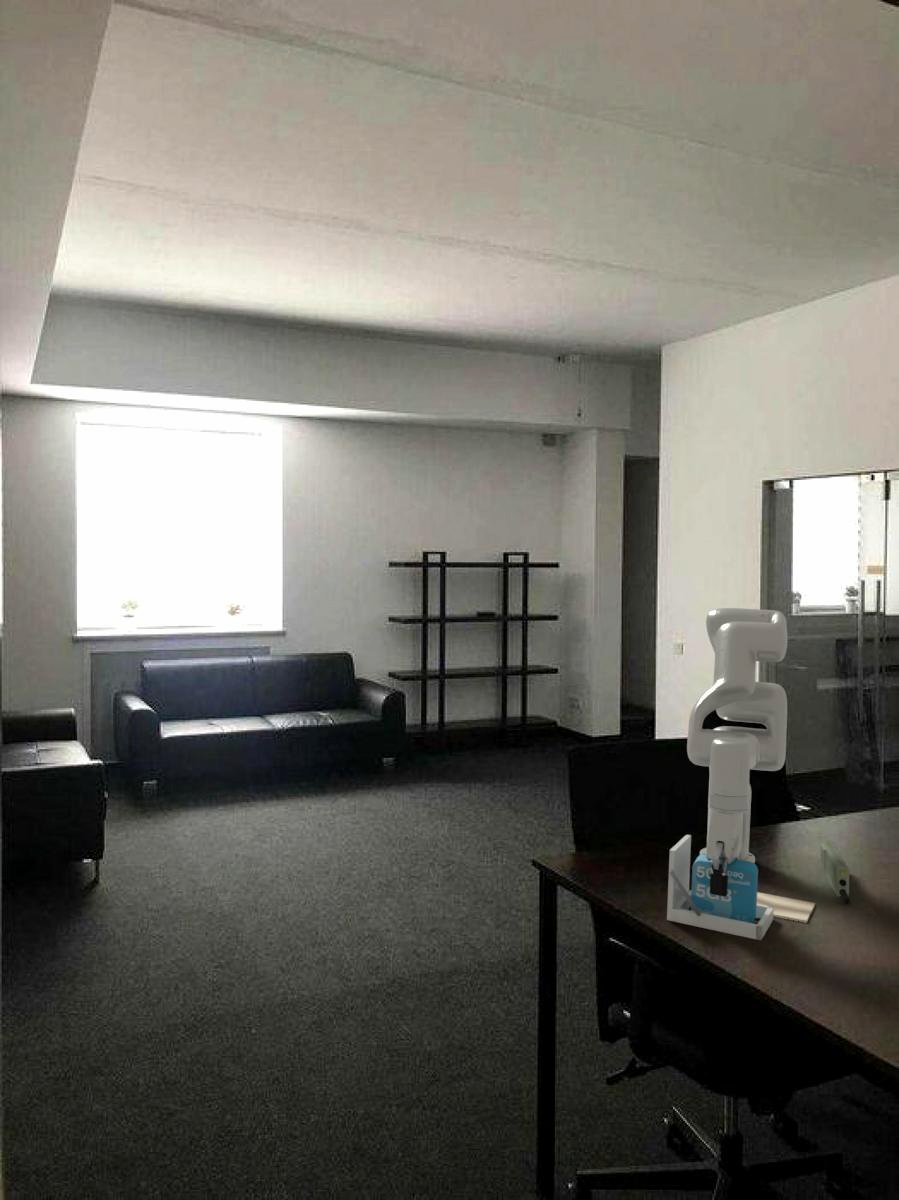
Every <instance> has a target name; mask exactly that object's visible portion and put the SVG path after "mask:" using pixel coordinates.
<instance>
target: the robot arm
mask: <svg viewBox="0 0 899 1200" xmlns="http://www.w3.org/2000/svg"><path fill="white" fill-rule="evenodd" d="M787 625H788V624H787V619H786V617H785V614H784V613H783V612H781V611H779V610H775V609H774V610H773V609H758V608H757V609H756V608H755V609H754V608H753V609H752V608H738V607H737V608H736V607H735V608H734V607H728V608H727V607H725V608H724V607H721V608H715V609H712V610H711V611H709V612H708V613H707V615H706V620H705V626H706V632H707V636H708V639H709V641H710V644H711V647H712V649H713V651H714V667H713V668H714V669H713V683H712V686H711V687H710V688H709V689H707V690H705V692H704V693H703V694H702V695H701V696H700V697H699V698H698V699H697V700H696V702H695V704H694V705H693V707H692V709H691V712H690V716H689V721H688V730H687V742H686V743H687V744H686V752H687V757H688V759H689V761H690V762H691V763H692V764H694V765H696V766H701V767H708V768H709V769H708V770H709V773H708V774H709V777H708V778H709V780H708V798H707V802H708V803H707V808H708V809H707V828H706V829H707V833H706V847H704V848H702V849H700V851H699V856H700V855H706V858H707V860H709V861H710V860H711V859H712V865H711V874H710V893H711V894H714V895H719V896H724V897H725V896H727V887H728V876H727V875H726V873H727V868H728V864H730V863H732V862H733V861H734V860H735V859H737V860H744V861H750V862H753V863H754V864H756V857H755V855H754V854H753V853H751V852H749V851H750V849H749V848H750V833H751V832H750V826H751V809H752V808H751V807H752V806H751V803H752V786H751V784H750V771H751V770H754V771H755V770H756V771H768V772H776V771H779V770H781V769H782V768H783V767H784V765H785V761H786V753H787V728H788V726H787V725H788V724H787V723H788V697H787V693H786V690H785V688H784V687H783V686H782V685H780V684H778V683H774V682H764V681H762V682H761V681H756V670H757V669H756V668H757V666H756V665H757V662H765V663H779V662H781V661H783V659H784V658H785V656H786V653H787V649H788V627H787ZM714 711H715V712H716V714H717V716H718V717H719V718H720V719H722V720H725V721H732V722H740V723H741V722H742V723H753V724H755V723H756V724H761V725H764V726H765V727H766V729H765V728H754V727H743V726H731V725H730V726H727V725H726V726H725V725H722V726H718V727H715V728H713V729H710V728H706V729H705V728H703V724H704V721H705V718H706V717H707V716H708V715H710V714H711V713H712V712H714ZM721 858H724V859H721ZM722 864H724V867H723V866H722Z"/></svg>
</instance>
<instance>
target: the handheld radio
mask: <svg viewBox="0 0 899 1200" xmlns="http://www.w3.org/2000/svg"><path fill="white" fill-rule="evenodd" d="M820 866H821V869H822V871H823V872H824V873H826V874H825V875H827V876H826V877H828V878H827V879H829V880H828V882H829V884H830V885H831V888H832V889H833V892H834V893H835V895H836V896H837V897H840V896H842V897H841V898H842V901H843V902H844V903H845V904H846V905H850V904H851V902H852V901H851V898H850V897H849V894H850V869H849V866H848V865H847V863H846V862H845V860H844V858H843V857H842V855H841V853H840V851H839V849H838V848H837V846H836V845H835V843H834V842H833V841H832V840H822V842H821V844H820Z"/></svg>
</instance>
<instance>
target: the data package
mask: <svg viewBox="0 0 899 1200" xmlns="http://www.w3.org/2000/svg"><path fill="white" fill-rule="evenodd" d="M721 859H724V858H721ZM711 865H712V859H711V860H710V861H709V860H707V858H706V855H700V854H699V855H698V856H697V857H696V859H695V861H694V862H693V865H692V869H691V871H692V873H691V899H692V901H693V902H694V904H695V905H696V907H697V908H698V910H699V911H700V913H705V914H710V915H714V916H719V917H724V918H729V919H733V920H738V921H743V922H748V923H753V924H755V923H754V922H755V919H756V918H755V917H756V908H757V892H758V881H759V880H758V879H759V868H758V866H757V864H756V863H753V862H750V861H744V860H737V859H735V860H734V861H733V862H732V863H730V864H728V868H727V873H726V875H727V876H728V887H727V896H725V897H724V896H719V895H714V894H711V893H710V874H711ZM722 866H723V867H724V864H722ZM690 911H694V910H693V908H692V907H691V906H690Z"/></svg>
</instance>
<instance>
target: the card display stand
mask: <svg viewBox="0 0 899 1200" xmlns="http://www.w3.org/2000/svg"><path fill="white" fill-rule="evenodd" d="M691 843H692V835H691V834H686V835H684V836H683V837H682V838H681V839H680V840H679V841H678V842H677V843H676V844H675V845H673V846H672V847H671V848H670V849H669V854H668V855H669V858H668V859H669V860H668V882H667V883H668V885H667V908H666V920H667V921H670V922H675V923H679V924H683V925H688V926H693V927H698V928H703V929H707V930H711V931H714V932H715V931H717V932H720V933H724V934H730V935H734V936H739V937H743V938H748V939H752V940H758V941H762V939H763V938H764V937H765V935H766V932H767V931H768V929H769V928H770V926H771V924H772V922H773V921H774V907H771V906H766V905H761V904H757V908H756V917H755V919H759V921H758V923H757V924H756V923H748V922H743V921H738V920H733V919H729V918H724V917H719V916H714V915H710V914H705V913H700V911H699V910H698V908H697V907H696V905H695V904H694V902H693V901H692V899H691V890H692V889H691V890H690V876H691V875H690V874H691V873H690V870H691V852H692V851H691V846H692V844H691ZM691 907H692V908H693V910H694V911H691V909H690V908H691ZM689 909H690V910H689Z"/></svg>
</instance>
